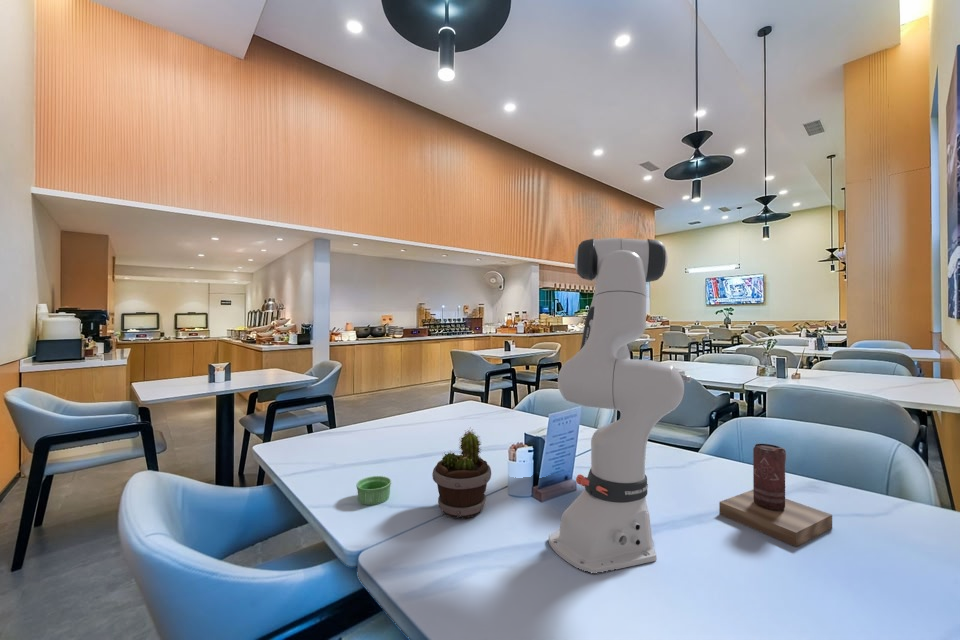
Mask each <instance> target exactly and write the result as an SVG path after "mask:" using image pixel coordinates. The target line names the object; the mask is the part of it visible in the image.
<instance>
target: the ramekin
mask: <svg viewBox="0 0 960 640" xmlns="http://www.w3.org/2000/svg"><path fill="white" fill-rule="evenodd" d="M391 484H392V480H391V478H389V477H387V476H383V475H380V476H379V475H375V476H369V477H368V476H367V477H365V478H362V479H360V480H359V481H357V483H356V489H357V499H358V503H360V504H361V505H364V506H365V505H366V506H375V505H380V504H383V503H385V502H386V501H387V500H389V499H390V494H391Z"/></svg>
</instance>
